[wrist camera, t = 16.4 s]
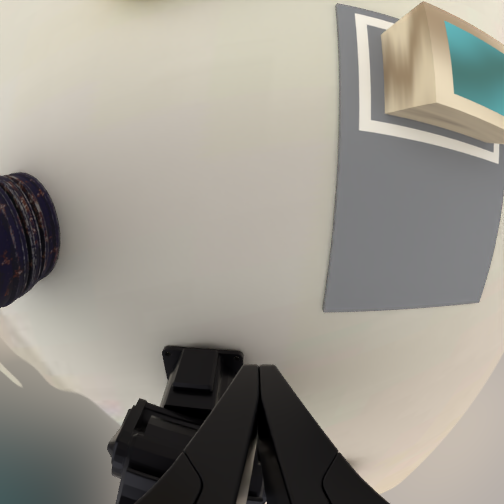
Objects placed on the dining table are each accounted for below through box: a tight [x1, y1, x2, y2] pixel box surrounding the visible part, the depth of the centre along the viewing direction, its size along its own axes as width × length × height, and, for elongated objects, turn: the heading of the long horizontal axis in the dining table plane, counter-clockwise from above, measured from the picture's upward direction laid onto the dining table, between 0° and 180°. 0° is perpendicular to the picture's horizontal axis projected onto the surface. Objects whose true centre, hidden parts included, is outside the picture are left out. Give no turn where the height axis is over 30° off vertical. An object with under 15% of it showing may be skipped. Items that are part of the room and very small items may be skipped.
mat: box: [323, 3, 504, 312], centre depth 16 cm, size 22×16×1 cm
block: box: [381, 1, 504, 144], centre depth 11 cm, size 6×10×6 cm, turn 89°
